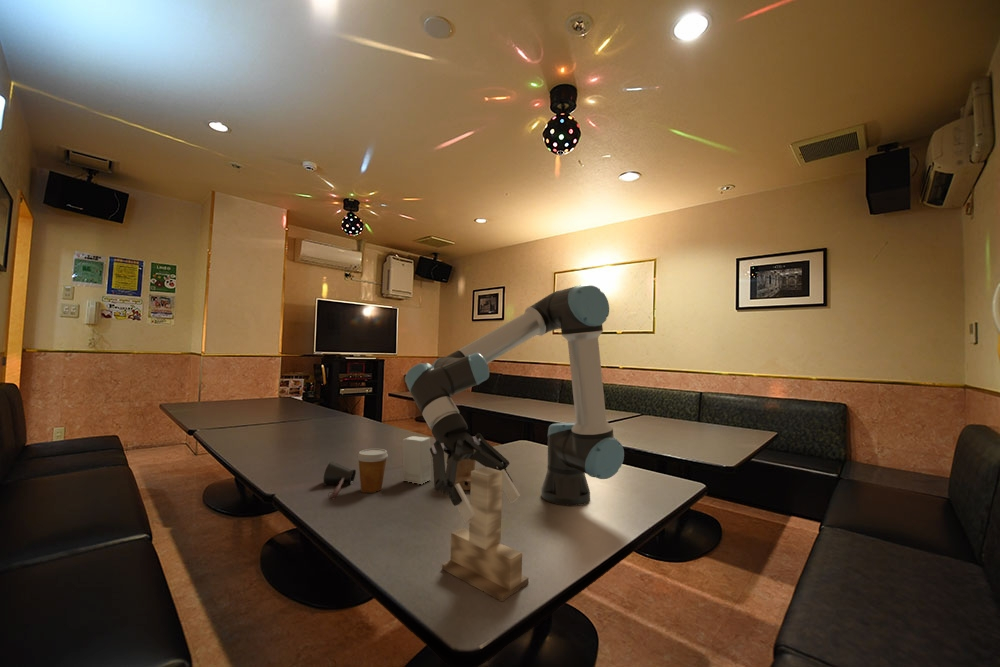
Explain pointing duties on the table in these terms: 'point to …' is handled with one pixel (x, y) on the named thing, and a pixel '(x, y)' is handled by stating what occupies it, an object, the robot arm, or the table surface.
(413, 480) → the skincare box
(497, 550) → the ridge
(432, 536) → the table surface
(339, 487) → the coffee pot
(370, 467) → the disposable coffee cup
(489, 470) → the block
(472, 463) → the tan upright curved piece
